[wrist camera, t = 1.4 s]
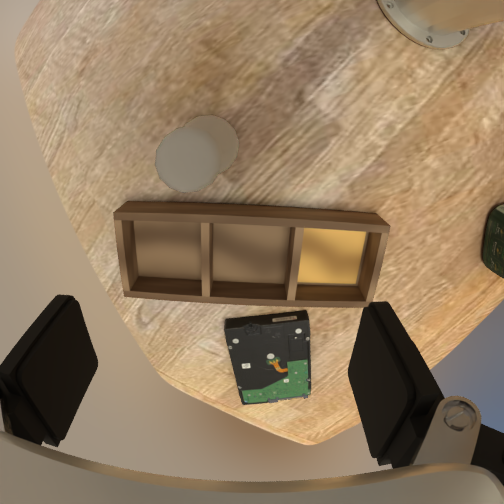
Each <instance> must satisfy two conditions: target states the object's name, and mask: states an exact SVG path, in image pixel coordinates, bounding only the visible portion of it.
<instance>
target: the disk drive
mask: <svg viewBox="0 0 504 504" xmlns="http://www.w3.org/2000/svg"><path fill="white" fill-rule="evenodd" d="M224 331H225V336H226V342H227V346H228V349H229V354H230V357H231V362H232V366H233V370H234V374H235V378H236V382H237V386H238V390H239V396H240V398H241V402H242V404H243V405H247V404H261V403H274V402H278V400H287V399H288V400H290V399H296V398H302V397H304V399H305V398H308V395H310V394H311V358H310V356H311V355H310V324H309V317H308V313H307V311H306V310H302V311H295V312H286V313H277V314H268V315H259V316H249V317H240V318H229V319H225V326H224Z"/></svg>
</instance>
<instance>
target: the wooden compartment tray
mask: <svg viewBox="0 0 504 504" xmlns="http://www.w3.org/2000/svg"><path fill="white" fill-rule="evenodd" d="M113 214H114V224H115V234H116V243H117V251H118V259H119V266H120V273H121V280H122V286H123V292H124V297H133V298H145V299H157V300H170V301H184V302H199V303H216V304H235V305H257V306H286V307H338V308H364V307H368V305H369V303H371V302H373V298H374V294H375V290H376V287H377V283H378V279H379V275H380V271H381V267H382V262H383V258H384V254H385V249H386V245H387V240H388V235H389V230H390V225H389V224H388V223H387V222H385V221H384V220H383V219H382V218H381V217H380V216H379V215H378V214H376V213H365V212H353V211H341V210H328V209H315V208H300V207H284V206H267V205H247V204H225V203H197V202H153V201H127V202H126V203H125V204H123V205H122V206H121V207H120V208H118V209H117V210H116V211H115V212H113Z"/></svg>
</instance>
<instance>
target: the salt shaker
mask: <svg viewBox="0 0 504 504" xmlns="http://www.w3.org/2000/svg"><path fill="white" fill-rule="evenodd" d="M238 148H239V141H238V137H237V134H236V131H235V129H234V128H233V127H232V126H231V125H230V124H229V123H228V122H227V121H226V120H225V119H222V118H219V117H217V116H214V115H205V116H197V117H196V118H194V119H192V120H191V121H189V122H188V123H186V124H185V126H184V127H182V128H177V129H175V130H174V131H172V132H171V133H169V134H168V135H166V136H165V137H164V139H163V140H162V142H161V144H160V145H159V147H158V149H157V150H156V160H155V166H156V169H157V172H158V175H159V177H160V179H161V180H162V181H163V182H164V183H165V184H166V185H167V186H168V187H169V188H171V189H174V190H177V191H179V192H182V193H186V192H196V191H200V190H201V189H203V188H205V187H207V186H208V185H210V184H212V183H213V181H214V180H215V178H216V177H217V175H218V174H220V173H222V172H223V171H225V170H227V169H229V168H230V166H231V165H232V163H233V162H234V160H235V159H236V158H237V154H238Z"/></svg>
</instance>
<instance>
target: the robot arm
mask: <svg viewBox="0 0 504 504" xmlns="http://www.w3.org/2000/svg"><path fill="white" fill-rule="evenodd" d="M377 1H378V4H379V6H380V8H381V9H382V11H383V12H384V14H385V16H386V17H387V18H388V19H389V21H390V22H391V23H392V24H393V25H394V26H395V27H396V28H397V29H398V30H399V31H400V32H401V33H402V34H404V35H405V36H406V37H408V38H409V39H411V40H413V41H414V42H416V43H418V44H420V45H423V46H425V47H428V48H433V49H447V48H452V47H455V46H457V45H459V44H460V43H461V42H463V41H464V40H465V38H466V37H467V35H468V32H469V30H470V28H474V27H478V26H482V25H486V24H491V23H495V22H500V21H504V0H377ZM387 6H388V7H389V8H388V7H387ZM97 367H98V359H97V356H96V353H95V351H94V348H93V345H92V342H91V340H90V336H89V333H88V330H87V327H86V324H85V322H84V318H83V314H82V311H81V308H80V304H79V302H78V301H77V300H75V298H74V297H73V296H70V295H57V296H55V298H54V299H53V300H52V301H51V302H50V303H49V305H48V306H47V307H46V308H45V309H44V310H43V312H42V313H41V314H40V315H39V316H38V318H37V319H36V320H35V321H34V322H33V324H32V325H31V326H30V327H29V329H28V330H27V331H26V332H25V334H24V335H23V336H22V337H21V339H20V340H19V341H18V342H17V344H16V345H15V346H14V348H13V349H12V350H11V352H10V353H9V354H8V355H7V357H6V358H5V360H4V361H3V363H2V364H1V365H0V504H504V433H501V432H499V431H497V430H495V429H492V428H490V427H488V426H485V425H483V424H481V414H480V411H479V409H478V408H477V406H476V405H475V404H474V403H473V402H471V400H469V399H467V398H464V397H461V396H450V397H447V398H444V396H443V394H442V392H441V390H440V388H439V386H438V385H437V383H436V381H435V379H434V377H433V375H432V373H431V372H430V370H429V368H428V366H427V364H426V363H425V361H424V359H423V357H422V356H421V354H420V352H419V350H418V349H417V347H416V345H415V344H414V342H413V341H412V340H411V339H410V337H409V335H408V333H407V332H406V330H405V328H404V327H403V325H402V323H401V322H400V320H399V318H398V317H397V315H396V314H395V312H394V310H393V309H392V307H391V305H390V304H389V303H388V302H386V301H385V302H371V303H369V305H368V307H364V309H363V312H362V316H361V320H360V325H359V329H358V333H357V337H356V341H355V345H354V348H353V352H352V356H351V360H350V363H349V367H348V377H349V381H350V384H351V387H352V391H353V394H354V397H355V401H356V404H357V407H358V411H359V414H360V418H361V421H362V424H363V428H364V432H365V435H366V439H367V443H368V446H369V450H370V453H371V456H372V457H373V458H377V461H378V464H379V466H381V465H386V464H392V468H393V469H388V470H382V471H376V472H370V473H364V474H357V475H350V476H342V477H333V478H323V479H313V480H299V481H276V482H237V481H216V480H202V479H190V478H180V477H172V476H165V475H158V474H152V473H146V472H140V471H134V470H129V469H124V468H119V467H115V466H110V465H106V464H101V463H98V462H93V461H90V460H86V459H82V458H78V457H75V456H72V455H68V454H65V453H62V452H59V451H56V450H53V449H49V448H47V447H44V446H41V444H42V442H43V441H44V442H45V443H46V444H49V445H52V446H55V447H58V445H59V443H60V441H61V440H63V439H65V437H66V434H67V432H68V430H69V428H70V425H71V423H72V421H73V419H74V416H75V414H76V412H77V409H78V408H79V405H80V403H81V401H82V399H83V397H84V395H85V393H86V391H87V388H88V386H89V384H90V382H91V380H92V378H93V376H94V374H95V372H96V370H97Z"/></svg>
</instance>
